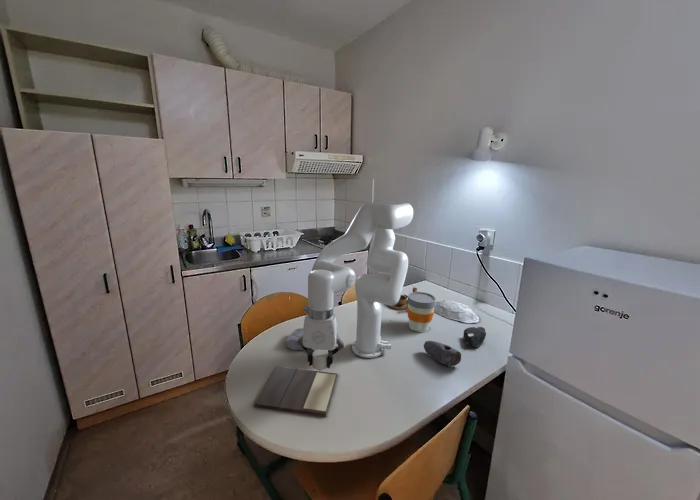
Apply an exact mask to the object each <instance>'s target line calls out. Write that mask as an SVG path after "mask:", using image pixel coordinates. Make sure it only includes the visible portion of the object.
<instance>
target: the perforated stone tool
mask: <svg viewBox="0 0 700 500" xmlns="http://www.w3.org/2000/svg"><path fill="white" fill-rule="evenodd" d="M423 349H424V351H425V353H426V354H427V355H428V356H429V357H431V358H432V359H434V360H435V361H438V362H439V363H440V364H443V365H445V366H448V367H450V368H452V367H455V366H457V365H458V364H460V363H461V360H462V353H461V352H460V351H459V350H457V349H455V348H453V347H452V346H451V345H447V344H444V343H442V342H439V341H435V340H426V341H424V344H423Z"/></svg>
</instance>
